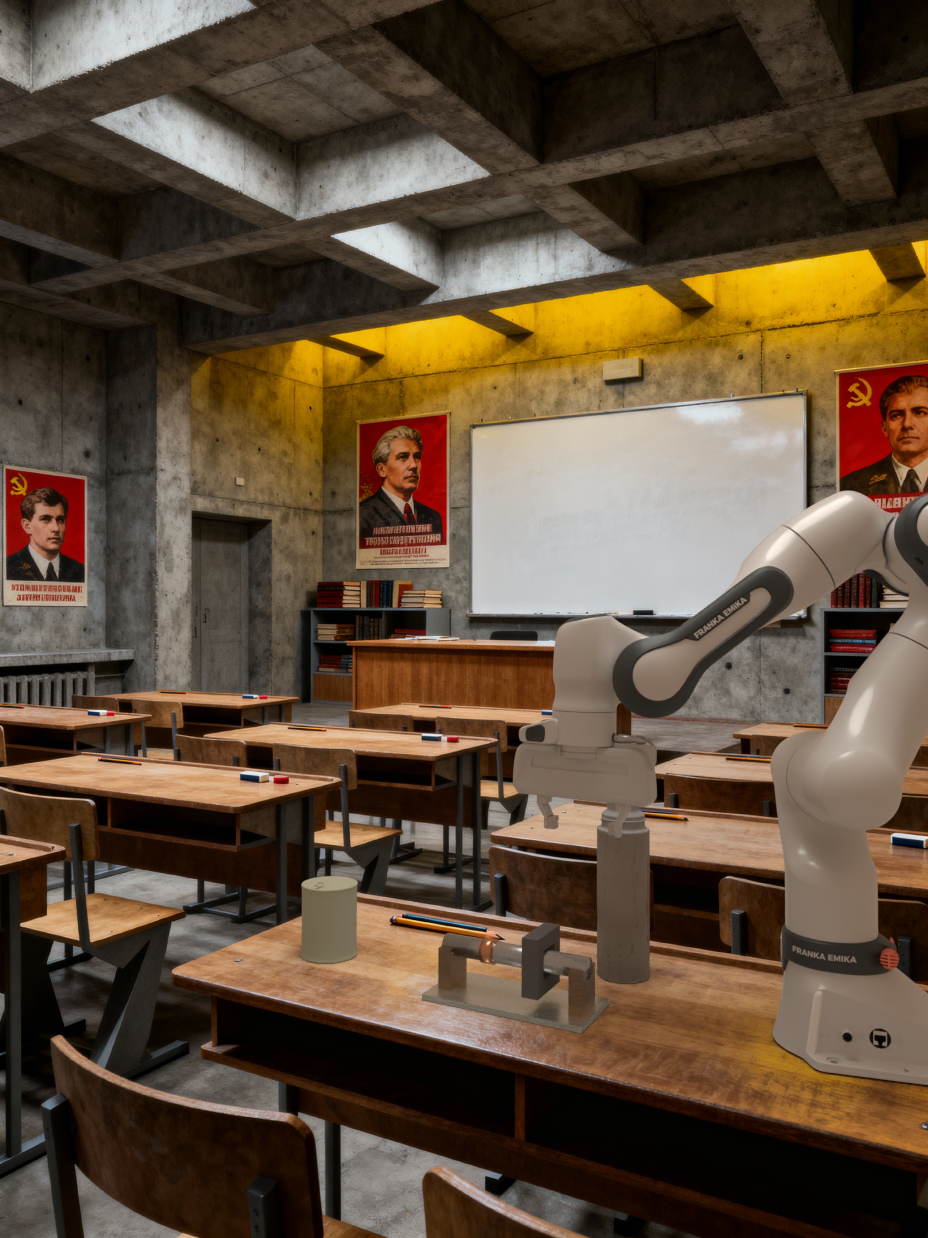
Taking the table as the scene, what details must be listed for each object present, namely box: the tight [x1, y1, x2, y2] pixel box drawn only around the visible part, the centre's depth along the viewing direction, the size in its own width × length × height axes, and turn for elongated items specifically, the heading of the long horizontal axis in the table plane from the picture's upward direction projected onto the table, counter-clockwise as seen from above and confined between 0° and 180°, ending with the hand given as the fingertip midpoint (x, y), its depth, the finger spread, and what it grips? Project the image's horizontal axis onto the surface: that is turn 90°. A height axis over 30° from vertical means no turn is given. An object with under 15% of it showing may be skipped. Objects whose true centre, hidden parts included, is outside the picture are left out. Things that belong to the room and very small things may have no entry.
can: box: [299, 875, 359, 965], centre depth 150 cm, size 9×9×12 cm
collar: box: [521, 921, 561, 1000], centre depth 128 cm, size 2×8×8 cm, turn 152°
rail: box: [421, 932, 610, 1034], centre depth 130 cm, size 24×11×8 cm, turn 62°
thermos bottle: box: [596, 803, 651, 984], centre depth 142 cm, size 8×8×28 cm
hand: (582, 832), depth 127 cm, fingers open, 8 cm apart
